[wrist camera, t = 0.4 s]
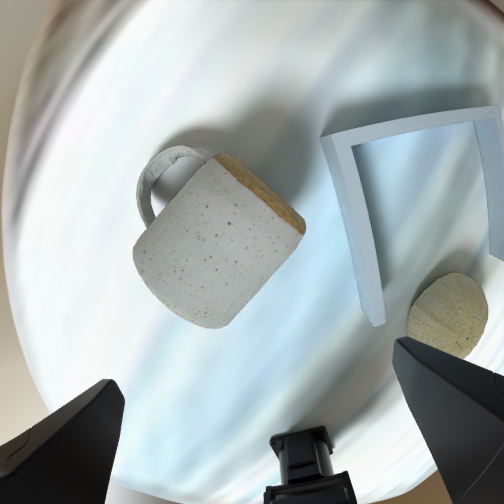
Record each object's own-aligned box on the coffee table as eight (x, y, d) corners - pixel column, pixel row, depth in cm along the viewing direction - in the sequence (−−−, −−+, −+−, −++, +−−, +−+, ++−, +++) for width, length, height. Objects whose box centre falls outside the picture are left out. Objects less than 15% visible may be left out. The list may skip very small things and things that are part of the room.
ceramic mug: (304, 214, 21) (331, 243, 13) (231, 295, 23) (221, 355, 15) (189, 119, 19) (154, 97, 11) (123, 208, 21) (67, 232, 13)
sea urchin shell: (469, 246, 20) (518, 320, 16) (451, 270, 26) (490, 328, 22) (389, 314, 21) (439, 393, 17) (388, 322, 28) (426, 382, 24)
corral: (495, 250, 22) (514, 260, 19) (361, 308, 23) (374, 327, 20) (477, 107, 18) (498, 105, 15) (319, 137, 19) (331, 134, 16)
